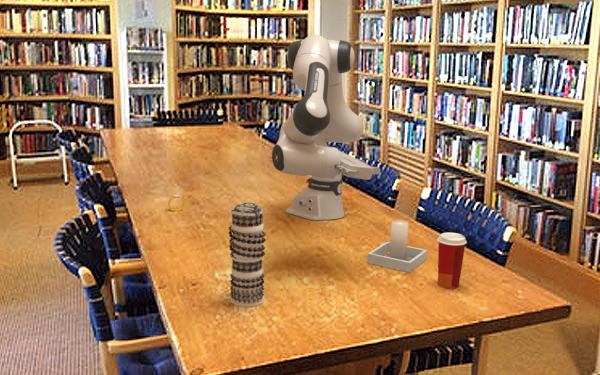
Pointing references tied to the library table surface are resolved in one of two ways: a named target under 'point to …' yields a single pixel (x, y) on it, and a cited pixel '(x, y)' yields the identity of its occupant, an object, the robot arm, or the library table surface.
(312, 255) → the library table surface
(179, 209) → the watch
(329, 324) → the library table surface
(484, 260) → the library table surface
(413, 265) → the corral
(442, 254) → the paper cup
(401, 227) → the white pillar candle
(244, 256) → the decorative candle
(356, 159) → the robot arm
